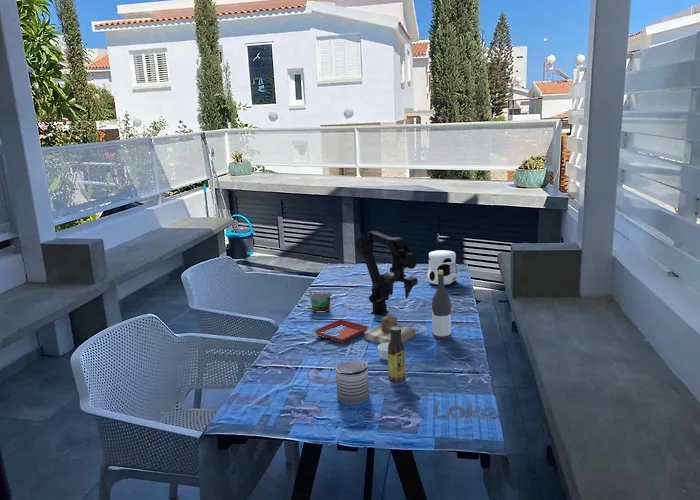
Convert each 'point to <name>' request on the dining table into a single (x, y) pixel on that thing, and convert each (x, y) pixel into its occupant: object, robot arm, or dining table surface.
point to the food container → (320, 301)
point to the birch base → (387, 334)
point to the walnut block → (388, 323)
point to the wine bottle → (441, 311)
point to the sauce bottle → (396, 356)
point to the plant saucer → (347, 333)
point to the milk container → (442, 267)
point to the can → (352, 382)
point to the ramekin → (383, 350)
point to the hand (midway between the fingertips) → (398, 296)
